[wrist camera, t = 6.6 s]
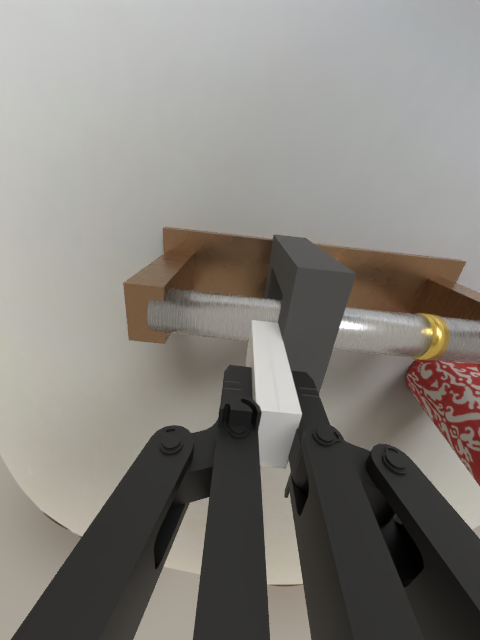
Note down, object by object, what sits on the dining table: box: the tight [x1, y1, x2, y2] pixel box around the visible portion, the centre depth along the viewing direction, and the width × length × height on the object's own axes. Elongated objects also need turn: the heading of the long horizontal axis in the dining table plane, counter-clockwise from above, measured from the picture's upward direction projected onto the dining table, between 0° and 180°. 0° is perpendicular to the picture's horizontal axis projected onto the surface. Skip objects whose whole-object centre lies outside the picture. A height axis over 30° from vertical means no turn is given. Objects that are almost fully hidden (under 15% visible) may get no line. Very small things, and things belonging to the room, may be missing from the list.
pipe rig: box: [123, 227, 480, 364], centre depth 21 cm, size 29×8×12 cm, turn 84°
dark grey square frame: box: [264, 235, 356, 394], centre depth 17 cm, size 2×10×10 cm, turn 174°
